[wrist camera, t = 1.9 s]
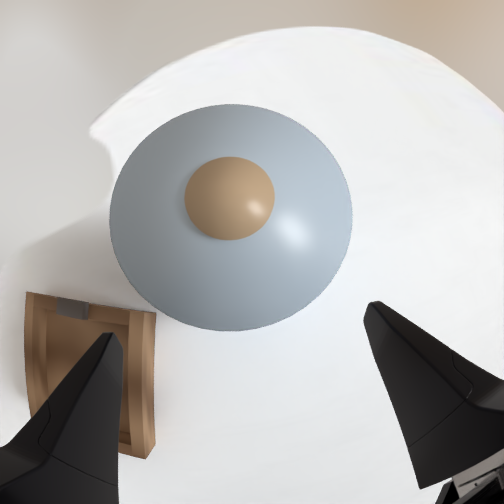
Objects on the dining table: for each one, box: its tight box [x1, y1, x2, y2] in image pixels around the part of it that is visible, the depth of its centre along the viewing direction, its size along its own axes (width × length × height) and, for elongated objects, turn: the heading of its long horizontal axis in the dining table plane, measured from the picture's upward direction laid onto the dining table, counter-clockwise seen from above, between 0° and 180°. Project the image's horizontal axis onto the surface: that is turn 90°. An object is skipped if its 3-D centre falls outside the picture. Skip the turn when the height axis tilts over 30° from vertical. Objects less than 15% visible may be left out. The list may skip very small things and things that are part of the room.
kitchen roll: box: [109, 104, 352, 331], centre depth 14 cm, size 7×7×13 cm
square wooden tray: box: [24, 292, 156, 459], centre depth 16 cm, size 11×11×4 cm
